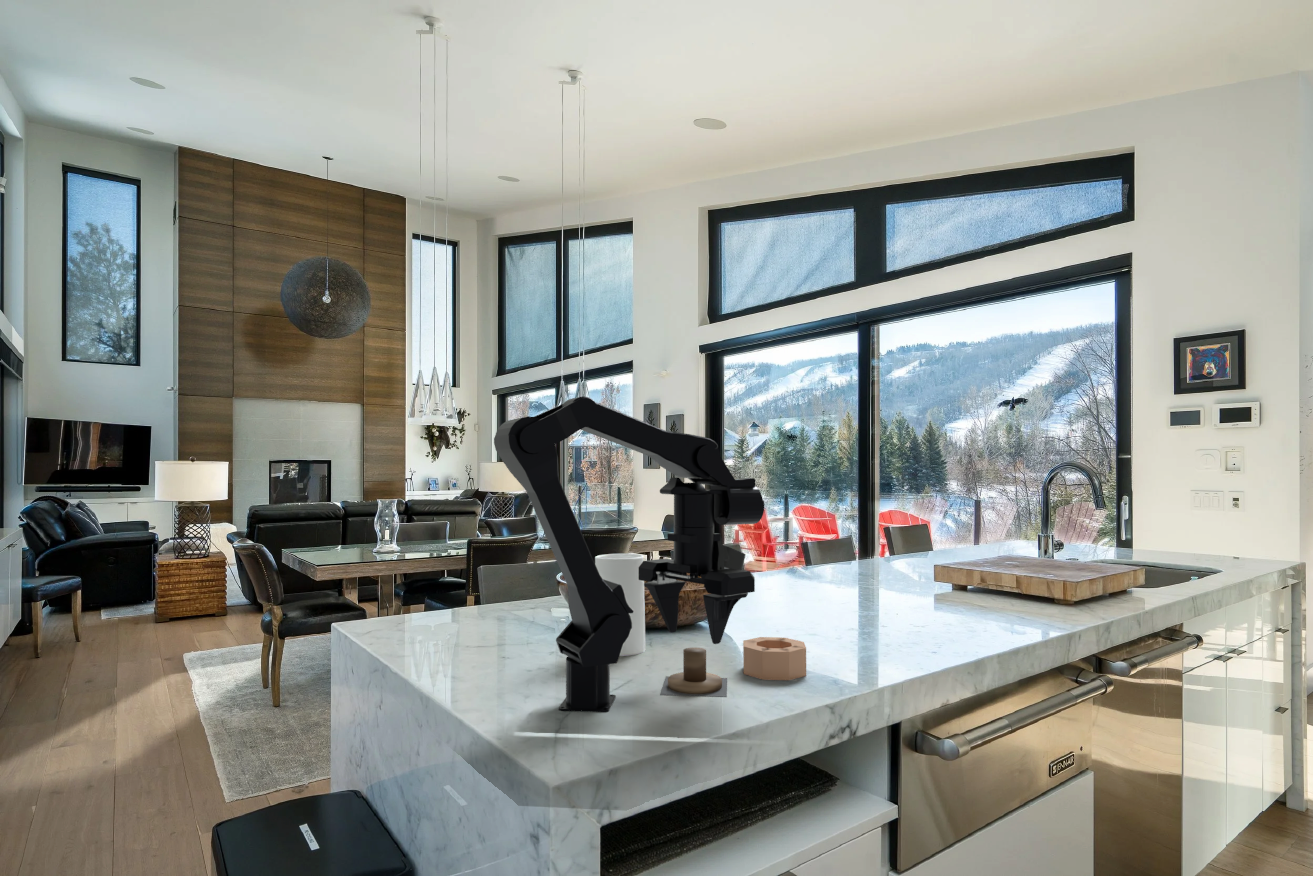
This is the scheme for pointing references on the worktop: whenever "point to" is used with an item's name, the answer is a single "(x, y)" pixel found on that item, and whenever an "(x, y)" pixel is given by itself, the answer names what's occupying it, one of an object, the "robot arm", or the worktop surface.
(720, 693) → the mat
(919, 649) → the worktop surface
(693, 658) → the lid
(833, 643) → the worktop surface
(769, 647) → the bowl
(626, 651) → the cup
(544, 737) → the worktop surface
